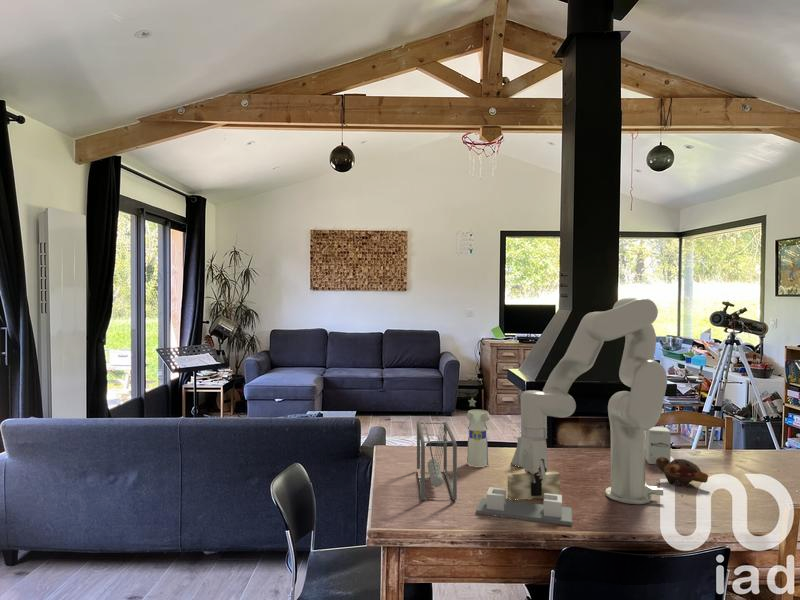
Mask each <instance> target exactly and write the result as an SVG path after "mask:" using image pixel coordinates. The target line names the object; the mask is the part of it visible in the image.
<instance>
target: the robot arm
mask: <svg viewBox="0 0 800 600" xmlns="http://www.w3.org/2000/svg"><path fill="white" fill-rule="evenodd" d="M658 314H659V310H658V307H657V305H656V303H655V302H654V301H653V300H651V299H650V298H646V297H627V298H626V297H624V298H622V299H619V300H617V301H616V302H615V303H614V305H613V306H612V309H608V310H605V311H593V312H588V313H587V314H585V315H584V316H583V317H582V319H581V320H580V323H579V325H578V327H577V329H576V331H575V333H574V335H573V337H572V339H571V341H570V344H569V346H568V347H567V350H566V352H565V353H564V356H563V357H562V358H561V359H560V360H559V362H558V363H557V364H556V365H555V367H554V368H553V369H552V371H551V372H550V374H549V376H548V379H547V380H546V382H545V385H544V387H543V388H542V391H541V390H535V389H534V390H530V389H529V390H525V391H522V392H521V394H520V422H521V423H520V437H521V439H520V449H519V464H520V466H521V467H520V468H522V469H524V472H525V473H532V482H531V495H532V496H541V495H542V482H543V479H545V478H546V474H545V473H546V472H548V464H549V463H548V461H549V460H548V459H549V458H548V447H547V445H548V444H547V439H548V435H547V434H548V430H547V429H548V426H547V425H548V424H547V422H548V419H547V418H548V417H554V418H563V419H564V418H568V417H571V416H572V415H573V414H574V413H575V411H576V408H577V404H576V401H575V399H574V397H573V396H572V395H570V394H569V390H570V388H571V387H572V385H573V383H574V382H575V380H576V379H577V378H578V377H580V376H581V375H583V374H584V373H587V371H589V370H590V369H591V368H592V367H593V366H594V364H595V362H596V359H597V358H598V355H599V353H600V352H601V349H602V347H603V345H604V344H605V343H604V342H610V341H613V340H616V339H619V338H622V337H625V342H624V347H623V348H624V349H623V353H622V356H621V361H620V366H619V371H618V376H619V380H620V381H621V383H622V384H624V385H625V386H627V387H629V388H630V391H627V390H622V391H617V392H615V393H614V394H613V395H611V397H610V398H609V400H608V405H607V412H608V413H607V414H608V420H609V426H610V486H609V487H607V488H605V495H606V497H607V498H609V499H611V500H613V501H616V502H619V503H623V504H629V505H630V504H631V505H643V504H644V505H645V504H649V503H650V502H652V495H656V496H662V497H663V496H664V489H663V488H660V487H659V488H658V487H657V486H653V485H648V484H647V482H646V433H645V431H646V430H649V429H651V428H653V427H656V425H657V423H658V422H659V420H660V417H661V414H662V409H663V405H664V401H665V395H666V390H667V386H668V376H667V375H668V374H667V371H666V370H665V369H666V368H665V367H664V366H663V365H662V364H661V363H660V362H659V361H656V360H655V354H656V349H657V348H656V346H657V335H656V331H655V328H654V325H653V324H654V322H655V321H656V320H657V318H658ZM537 474H539V475H537ZM536 475H537V476H536Z"/></svg>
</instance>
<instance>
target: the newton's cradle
mask: <svg viewBox="0 0 800 600" xmlns="http://www.w3.org/2000/svg"><path fill="white" fill-rule="evenodd" d="M428 424H429V425H430V426H426V425H428ZM434 424H435V425H436V426H434ZM422 425H424V426H423V427H424V430H425V434H426V438H427V440H425V439H424V438H425V437H424V433H423V428H422ZM431 425H433V426H431ZM437 425H440V426H437ZM427 427H430V428H431V427H433V428H434V427H435V428H438V427H440V428H439V429H440V430H439V431H438V434H439V435H437V440H436V441H434V440H430V439H431V438H430V434H429V431H428V428H427ZM447 434H448V435H447ZM448 436H449V438H450V440H449V439H448ZM425 443H426V444H428V446H429V450H430V457H431V459H429V460H428V462H427V468H428V470H427V471H429V472H428V473H429V477H430V478H429V479H430V483H431V484H432V486H433V487H435V488H439V487H442V485H443V483H444V479H443V478H444V477H443V474H442V472H441V471H442V470H441V465H440V464H441V463H442V458H443V471H444V470H445V473H446V477H447V480H446V482H447V481H448V483H447V486H448V485H449V487H448V489H450V490H449V493H450V492H451V493H450V497H448V498H449V499H448V500H452V499H453V500H456V501H457V497H458V496H457V495H458V492H457V489H458V488H457V486H458V483H457V482H458V481H457V480H458V477H457V476H458V475H457V474H458V471H457V470H458V468H457V467H458V466H457V465H458V464H457V463H458V448H457V447H458V444H457V441H456V438H455V436H454V434H453V432H452V430H451V428H450V426H449V424H448V422H447V421H444V422H421V421H420V420H419V421H417V422H416V470H417V469H420V471H421V472H420V473H421V478H419V480H420V481H419V483H418V485H419V484H420V490H419V494H420V495H421V497H420V501H421V500H424V499H425V498H426V472H425V471H426V456H425V455H426V444H425ZM434 443H436V447H435V450H436V451H435V453H434V454H433V451H432V445H431V444H434ZM448 443H449V444H452V482H451V479H449V478H450V476H448V475H449V473H447V472H448V468H447V466H448V464H447V463H448V459H447V458H448V457H447V456H448V455H447V453H448V452H447V451H448V449H447V448H448V447H447V446H448ZM434 455H435V456H434ZM445 473H444V474H445ZM446 477H445V478H446ZM420 495H419V496H420ZM451 496H452V497H451ZM450 498H452V499H450ZM425 500H426V499H425ZM425 500H424V501H425ZM453 500H452V501H453Z"/></svg>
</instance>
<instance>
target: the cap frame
mask: <svg viewBox="0 0 800 600" xmlns="http://www.w3.org/2000/svg"><path fill="white" fill-rule="evenodd" d="M476 513H477V514H476V515H481V514H486V515H485V516H489V515H496V516H495V517H497V516H503V517H502V518H505V517H510V518H509V519H513V518H516V519H515V520H521V521H522V520H523V521H528V522H529V521H530V522H538V523H547V524H555V525H563V526H570V527H572V526H573V514H572V513H573V512H572V507H567V506H563V495H562V494H560V495H558V494H549V493H544V498H543V504H542V503H540V504H539V503H529V502H523V501H510V500H507V489H506V488H500V487H491V486H489V488H488V490H487V492H486V497H481V499H480V501H479V504H478V506H477V508H476Z"/></svg>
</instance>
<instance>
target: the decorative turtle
mask: <svg viewBox="0 0 800 600" xmlns="http://www.w3.org/2000/svg"><path fill="white" fill-rule="evenodd" d="M670 461H671V462H669V460H668V458H665V457H659V458H657V460H656V464H655V465H656V466H657V467H658V469H659V470H660V471H661V472H662V473H663V474H664V476H665V478H666V481H667V483H669V484H670V485H673V484H675V483H676V482H679V483H680V484H681V485H682V486H683V487H684V488H686V487H688V486H689V485H690V483H691V482H693V481H694V482H699V483H703V484H704V483H707V482H708V480H709V475H708V474H707V473H705V472H702V470H701V469H700V467H699V466H698V465H697V464H696V463H694V462H692V461H690V460H688V459H687V460H686V459H681V458H675V459H673V460H670Z"/></svg>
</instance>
